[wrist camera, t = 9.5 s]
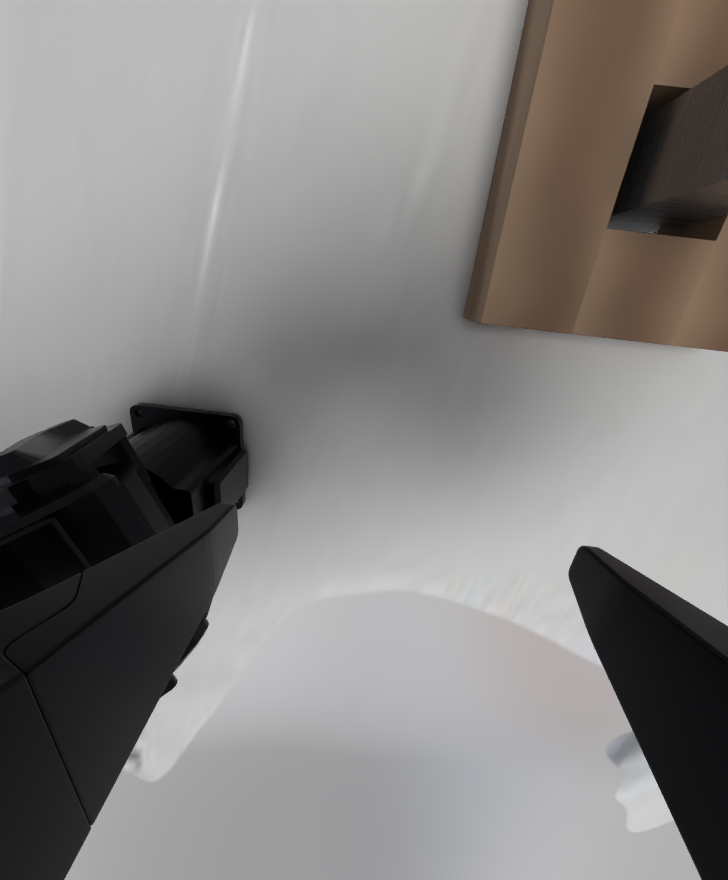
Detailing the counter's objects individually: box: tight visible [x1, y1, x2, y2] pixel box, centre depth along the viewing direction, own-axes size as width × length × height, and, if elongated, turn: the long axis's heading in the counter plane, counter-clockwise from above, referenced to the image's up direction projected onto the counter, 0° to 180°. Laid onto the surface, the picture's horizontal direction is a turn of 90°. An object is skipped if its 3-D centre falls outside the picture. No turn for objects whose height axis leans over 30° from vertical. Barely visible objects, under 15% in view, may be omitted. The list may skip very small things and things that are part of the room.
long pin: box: [607, 65, 728, 232], centre depth 11 cm, size 3×3×10 cm
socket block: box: [464, 0, 728, 352], centre depth 14 cm, size 12×12×4 cm
